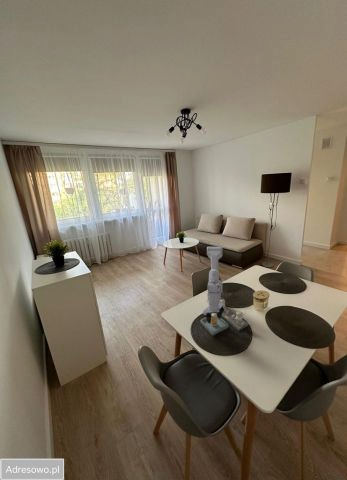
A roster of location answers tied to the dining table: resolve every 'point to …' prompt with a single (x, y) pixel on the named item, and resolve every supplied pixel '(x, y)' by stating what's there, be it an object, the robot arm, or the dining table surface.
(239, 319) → the fuse
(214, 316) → the marked fuse
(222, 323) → the tray
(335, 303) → the dining table surface
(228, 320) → the fuse block
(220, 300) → the fuse
